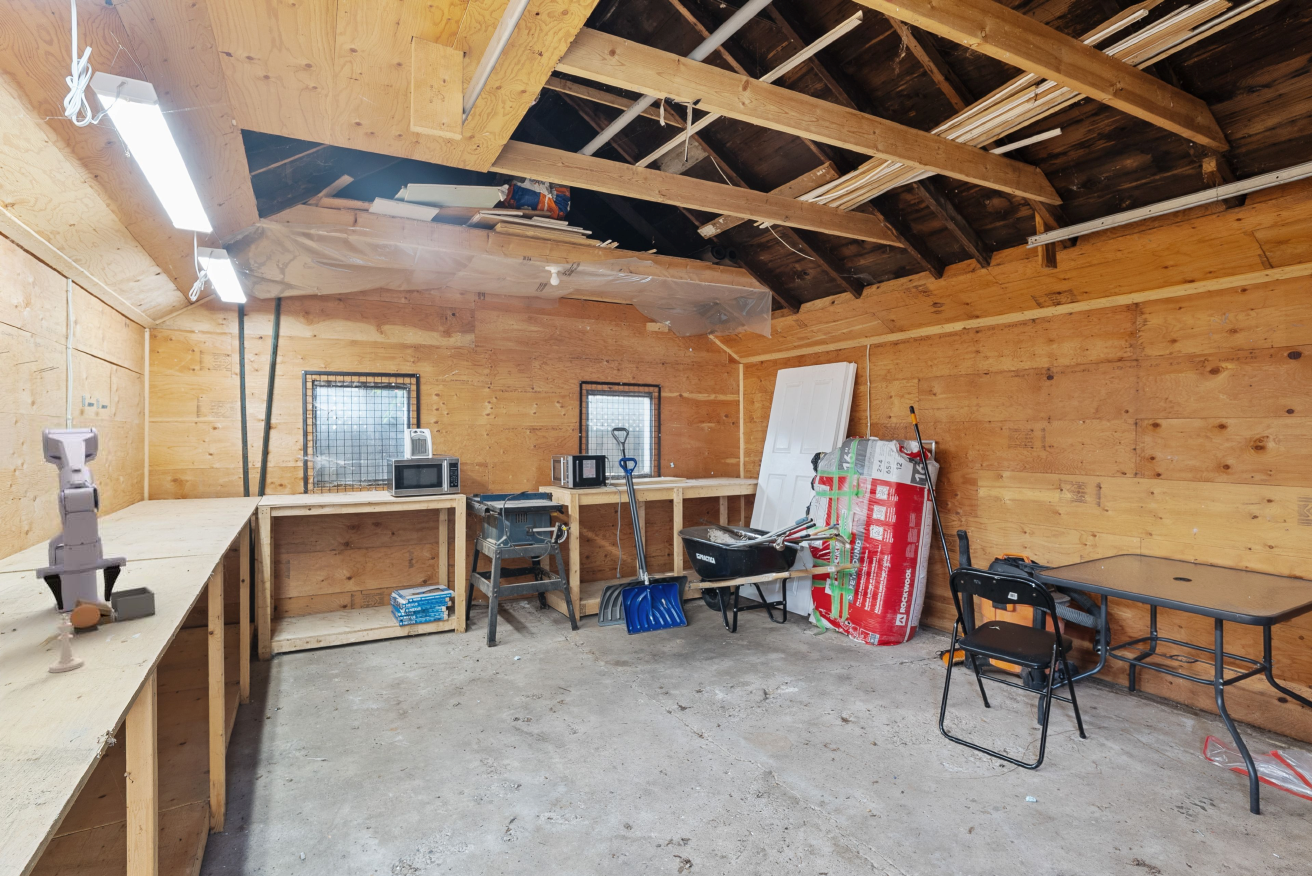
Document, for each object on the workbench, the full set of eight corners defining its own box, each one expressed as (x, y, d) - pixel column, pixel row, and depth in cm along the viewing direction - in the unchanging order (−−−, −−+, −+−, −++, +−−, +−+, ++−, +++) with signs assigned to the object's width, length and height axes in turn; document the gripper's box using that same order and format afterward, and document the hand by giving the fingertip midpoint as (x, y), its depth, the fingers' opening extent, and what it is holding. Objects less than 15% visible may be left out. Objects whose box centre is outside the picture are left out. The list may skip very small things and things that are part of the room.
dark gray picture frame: (73, 630, 141) (73, 626, 141) (95, 626, 143) (95, 622, 143) (76, 634, 138) (75, 630, 138) (98, 629, 141) (97, 626, 141)
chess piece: (62, 673, 117) (59, 619, 117) (41, 671, 118) (38, 617, 118) (91, 662, 122) (88, 610, 122) (70, 661, 123) (67, 609, 123)
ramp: (76, 620, 147) (74, 598, 147) (108, 614, 152) (107, 593, 152) (81, 628, 142) (79, 605, 142) (114, 621, 146) (113, 599, 146)
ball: (68, 628, 141) (67, 605, 140) (98, 622, 144) (97, 600, 144) (71, 633, 137) (70, 610, 137) (102, 627, 141) (101, 604, 141)
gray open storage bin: (109, 613, 152) (108, 592, 152) (147, 606, 157) (146, 586, 157) (116, 621, 146) (115, 599, 146) (155, 614, 152) (154, 593, 151)
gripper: (36, 551, 132) (40, 616, 132) (127, 539, 143) (130, 600, 143) (33, 546, 137) (37, 610, 137) (121, 536, 147) (124, 594, 148)
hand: (84, 604), depth 141 cm, fingers open, 7 cm apart
